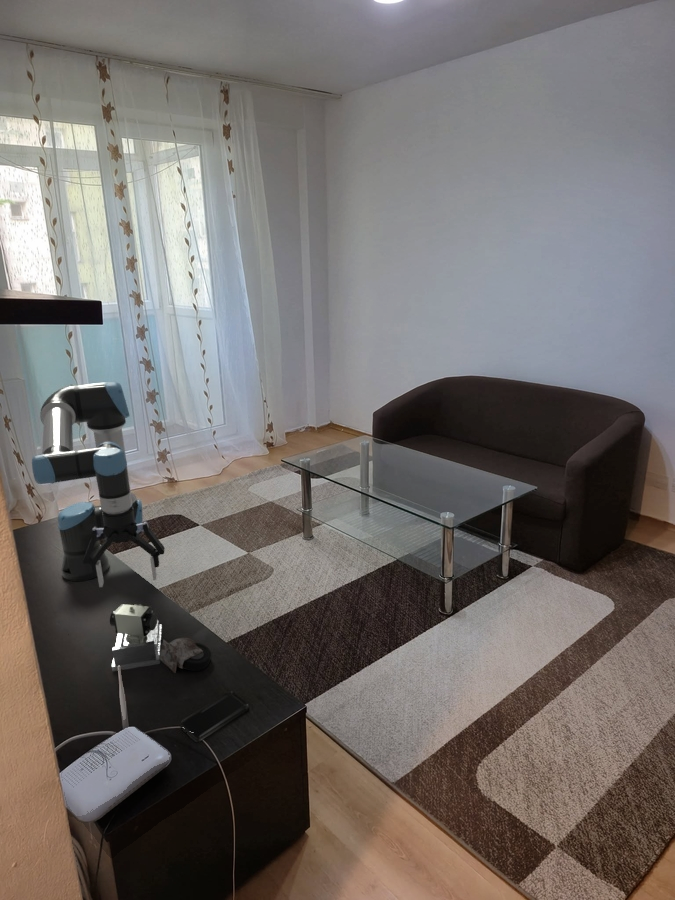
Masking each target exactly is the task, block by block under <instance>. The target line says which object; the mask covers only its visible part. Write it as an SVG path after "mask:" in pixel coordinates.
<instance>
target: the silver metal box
mask: <svg viewBox="0 0 675 900" xmlns="http://www.w3.org/2000/svg"><path fill="white" fill-rule="evenodd" d="M126 636H127V634H119V633H117V636H116V642H115V646H113V647H112V648H111V649H112V650H111V652H112V658H113V659H112V663H111V669H112V672H117V666H118V665H120V666H121V668H122V670H121V671H124V670H129V669H135V668H142V667H143V668H144V667H149V666H153V665H154V666H156V665H160V664H161V660H160V655H161V649H162V641H163V639H162V636H163V625H162V624H160V621H159V620H158V619H157V624H156V627H155V629H154V630H152V631H150V632H149V633H148V634H147V642H145V643H138V644H132V645H128V644H129V643H128V642H126ZM161 640H162V641H161Z"/></svg>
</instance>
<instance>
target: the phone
mask: <svg viewBox="0 0 675 900" xmlns="http://www.w3.org/2000/svg"><path fill="white" fill-rule="evenodd" d="M248 710H249V703H247V701H245V700H244V699H243V698H242V697H240V696H239V695H238V694H237V693H235V692H234V691H230V690H229V691H227V692H225V693H223V694H222V695H221V696H218V697H217V698H216V699H214V700H213V701H211V702H209V703H207V704H206V705H205V706H203V707H201V708H199V709H198V710H196V711H195V712H193V713H191V714H190V715H188V716H187V717H185V718H183V719H182V720H181V721H180V722H179V727H180V726H181V727H184V728H185V731H184V733H186V732H187V733H186V734H187V735H188V736H189V738H190V739H192V741H194V742H196V743H197V742H201V741H202V740H201V739H203V740H204V739H205V738H207V737H209V736H211V735H212V734H213V733H215V732H217V731H218V730H219V729H221V728H222V727H224V726H226V725H228V723H230V722H232V721H233V720H235V719H236V718H238V717H239V716H241V715H242V714H244V713H245V712H247V711H248ZM181 727H180V728H181ZM189 731H191V732H194V733H191V732H189Z"/></svg>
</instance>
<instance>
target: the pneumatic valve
mask: <svg viewBox="0 0 675 900" xmlns="http://www.w3.org/2000/svg"><path fill="white" fill-rule="evenodd" d="M157 620H158V616H157V614H156V613H154V611H153V610H152V606H144V605H142V604H137V603H135V604H134V605H133V604H123V603H121V604H120V605H119V606H118V608H116V609H114V610H112V612H111V614H110V616H109V625H110V626H111V627H114V630H115V634H118V633H119V634H127V636H126V642H128V643H129V644H128V645H132V644H138V643H145V642H147V634H148V633H149V632H150V631H152V630H154V629H155V627H156V624H157Z"/></svg>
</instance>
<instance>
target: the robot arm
mask: <svg viewBox="0 0 675 900" xmlns="http://www.w3.org/2000/svg"><path fill="white" fill-rule="evenodd" d="M39 413H40V417H39V419H40V422H41V424H42V425H43V429H42V430H43V431H42V453H41V454H38V455H34V456H33V457H32V458H31V468H32V473H33V479H34V481H35V483H37V484H38V485H45V484H46V485H47V484H56V483H61V482H69V481H75V480H80V479H82V480H83V479H88V478H95V479H96V485H97V488H98V489H97V490H98V495H99V497H98V498H99V503H100V504H99V505H97V506H95V504H94V503H93V502H91V501H80V502H76V503H73V504H71V505H68V506H66V507H65V508H63V509H62V510H60V512H59V513H58V515H57V523H58V525H57V528H58V531H59V534H60V540H61V545H62V550H63V557H62V560H61V567H60V568H61V575H62V576H61V577H62V578H63V579H65V580H67V581H71V582H83V581H88V580H91V579H94V578H97V581H98V587H99V588H103V587H104V582H105V581H104V580H105V579H104V576H103V575H104V574H105V573H106V572H107V571H108V569H109V568H110V563H109V562H110V561H109V558H108V556H107V554H106V553H105V552H106V551H107V549H108V548H109V547H110V546H111V544H112V543H114V544H120V543H129V542H130V541H131V542H132V543H134V544H136V545H137V546H138V547H140V548H141V549H142V550H144V551H145V552H146V553H147V554H149V556H150V559H149V561H150V567H151V573H152V580H153V581H156V580H157V575H158V574H157V568H159V567H160V557H159V556H160V555H164V554H165V546H164V544H163V543H162V542H161V541H160V540H159V538H158V537H157V535H156V533H154V532H153V530H152V529H151V528H150V525H149V521H148V520H144V519H143V518H144V516H143V504H142V500H141V499H140V498H137V495H136V494H135V493H133V492H132V490H131V484H130V477H129V470H128V462H127V458H126V457H127V456H126V449H125V442H124V435H123V429H122V428H123V427H124V426H125V425H126V424H127V423H126V422H127V421H126V418H130V411H129V408H128V404H127V400H126V397H125V393H124V391H123V387H122V385H121V383H119V382H116V381H107V382H106V381H103V382H96V383H95V382H94V383H87V384H86V383H85V384H77V385H68V386H64V387H62V388H60V389H58V390H56V391H55V392H53V393H52V394H50V396H49V397H47V399H46V400H45V401H44V402H43V404H42V405H41V408H40V412H39ZM79 423H86V426H87V428H88V429H89V430H90V431H92V432H93V436H94V437H93V438H94V442H95V447H90V448H89V447H88V448H82V449H75V450H74V440H73V439H74V434H73V425H74V424H79ZM141 532H142V533H144V535H145V536H146V538H147V539H148V540H149V542H150V543H149V542H148V541H147V540H145V539H144V538H143V537H142V536H140V534H139V533H141ZM100 541H103V542H102V544H101V542H100Z"/></svg>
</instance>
